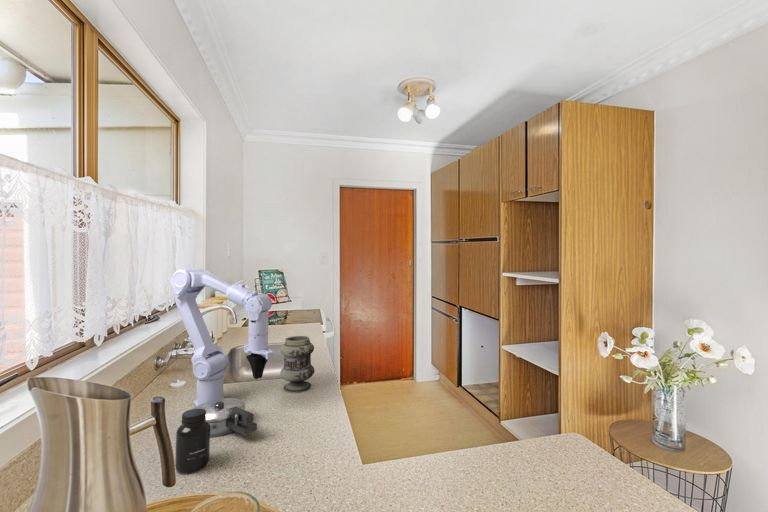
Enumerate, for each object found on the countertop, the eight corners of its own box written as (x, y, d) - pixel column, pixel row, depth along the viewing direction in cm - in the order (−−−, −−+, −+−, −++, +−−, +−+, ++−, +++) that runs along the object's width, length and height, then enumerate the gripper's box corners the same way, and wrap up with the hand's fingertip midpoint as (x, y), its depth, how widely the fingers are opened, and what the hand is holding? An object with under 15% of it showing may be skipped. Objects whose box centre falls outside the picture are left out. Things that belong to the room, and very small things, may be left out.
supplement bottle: (195, 476, 75) (195, 421, 75) (167, 472, 76) (168, 417, 76) (216, 458, 82) (217, 407, 82) (191, 455, 83) (191, 404, 83)
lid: (181, 412, 96) (182, 403, 96) (228, 396, 107) (228, 388, 107) (224, 436, 84) (224, 425, 84) (272, 415, 95) (272, 406, 95)
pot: (183, 428, 96) (183, 404, 96) (227, 411, 107) (227, 389, 107) (227, 452, 84) (227, 425, 84) (271, 430, 95) (271, 406, 95)
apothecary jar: (295, 379, 135) (296, 332, 135) (321, 385, 129) (321, 336, 129) (272, 390, 124) (273, 339, 124) (299, 396, 118) (299, 343, 118)
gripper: (234, 332, 110) (234, 375, 110) (258, 339, 100) (257, 387, 100) (255, 328, 115) (255, 370, 115) (279, 335, 105) (279, 380, 105)
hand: (257, 377), depth 108 cm, fingers closed
